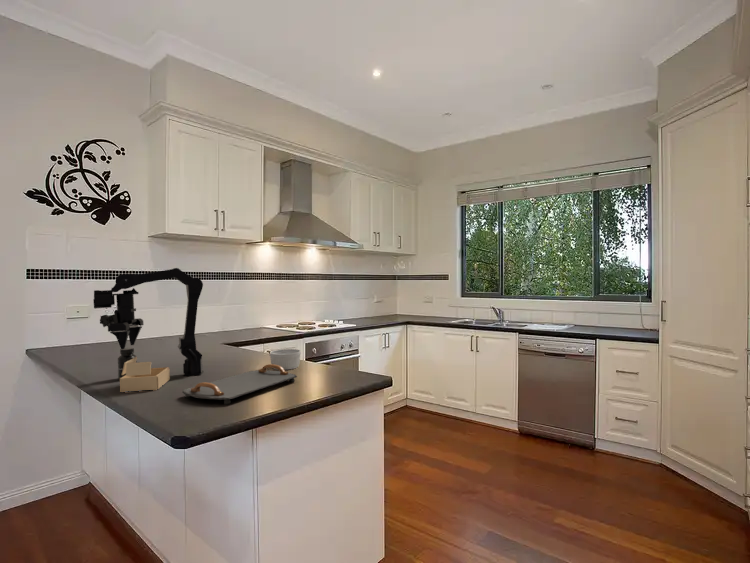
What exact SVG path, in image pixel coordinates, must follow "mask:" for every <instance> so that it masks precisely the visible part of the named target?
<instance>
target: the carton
mask: <svg viewBox="0 0 750 563" xmlns="http://www.w3.org/2000/svg"><path fill="white" fill-rule="evenodd" d="M170 370H171V368H170V367H168V366H167V367H166V366H164V367H151V374H149V375H133V376H126V375H125V376H123V377H122V378H120V380H119V393H120V392H125V391H138V390H153V391H158V390H160V389H161V388H162V385H163V386H164V385H165V384H166V383H168V382H169V381H170V380H171V371H170ZM157 389H158V390H157ZM125 393H126V392H125Z"/></svg>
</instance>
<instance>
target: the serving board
mask: <svg viewBox="0 0 750 563" xmlns="http://www.w3.org/2000/svg"><path fill="white" fill-rule="evenodd" d="M268 368H271V369H274V368H276V369H278V370H276V369H275V370H267V369H268ZM295 378H298V376H297V375H296V374H294V373H291V372H288V371H287V370H284V369H283V368H282V367H281V366H279V365H275V364H271V363H270V364H265V365H263V367H262V368H259V369H258V370H250V371H245V372H243V373H238V374H234V375H232V376H227V377H224V378H220V379H217V380H213V381H210V382H205V381H203V382H198V383H197V384H196V385H194V386H191V387H189V388H186V389H185V388H184V389H183V390H182V394H183V395H185V396H184V397H185V399H191V398H197V399H202V400H203V399H204V400H205V399H206V400H219V401H221V400H223V405H226V406H228V405H231V404H232V403H231V402H232V400H233V399H235V398H236V399H237V398H238V397H241V396H245V395H247V394H251V393H254V392H256V391H260V390H262V389H265V388H268V387H271V386H275V385H278V384H281V383H283V382H286V381H288V383H294V382H295Z"/></svg>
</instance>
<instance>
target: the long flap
mask: <svg viewBox="0 0 750 563" xmlns="http://www.w3.org/2000/svg"><path fill="white" fill-rule="evenodd" d="M136 360H137V361H138V357H135V358H133V359H131V360H129V361H127V362H125V363H124V367H123V371H122V375H124V374H126V363H136Z"/></svg>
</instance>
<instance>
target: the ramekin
mask: <svg viewBox="0 0 750 563" xmlns="http://www.w3.org/2000/svg"><path fill="white" fill-rule="evenodd" d="M301 354H302V351H301V350H300V349H297V348H296V349H295V348H283V349H282V348H281V349H280V348H279V349H275V350H271V351H270V352H269V357H270V364H275V365H279V366H281V367H282V368H283V369H284V370H285V371H287V370H294V369H297V368H298V367H299V366H300V362H301ZM273 369H274V370H275V371H279V370H278V369H276V368H273Z"/></svg>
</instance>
